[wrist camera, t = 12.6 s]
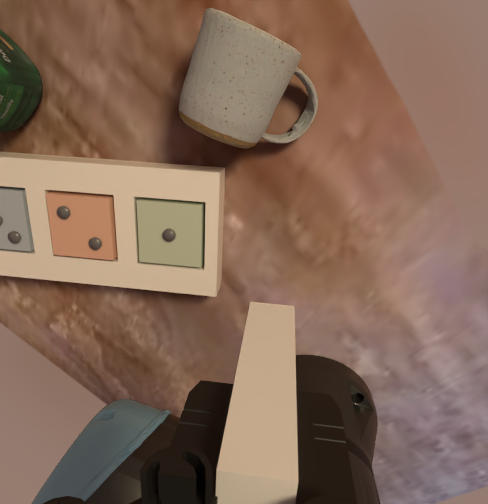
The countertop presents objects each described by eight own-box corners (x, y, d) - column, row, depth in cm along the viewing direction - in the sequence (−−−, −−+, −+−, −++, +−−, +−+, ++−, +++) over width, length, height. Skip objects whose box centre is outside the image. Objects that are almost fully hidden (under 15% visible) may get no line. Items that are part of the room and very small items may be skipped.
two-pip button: (125, 249, 40) (112, 261, 37) (70, 244, 40) (52, 255, 37) (122, 192, 37) (107, 199, 34) (63, 187, 38) (44, 194, 35)
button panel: (221, 283, 40) (216, 296, 37) (-12, 260, 42) (-33, 271, 40) (225, 167, 36) (219, 172, 33) (-34, 149, 38) (-60, 152, 35)
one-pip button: (207, 256, 39) (200, 268, 36) (150, 250, 40) (138, 262, 37) (208, 198, 37) (201, 206, 34) (148, 193, 37) (135, 201, 34)
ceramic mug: (185, 115, 35) (159, 118, 28) (217, 18, 32) (197, -7, 25) (292, 162, 35) (294, 177, 28) (333, 71, 32) (348, 61, 25)
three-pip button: (48, 241, 41) (29, 252, 38) (-5, 236, 41) (-29, 247, 38) (41, 185, 38) (19, 191, 35) (-16, 180, 39) (-41, 186, 36)
